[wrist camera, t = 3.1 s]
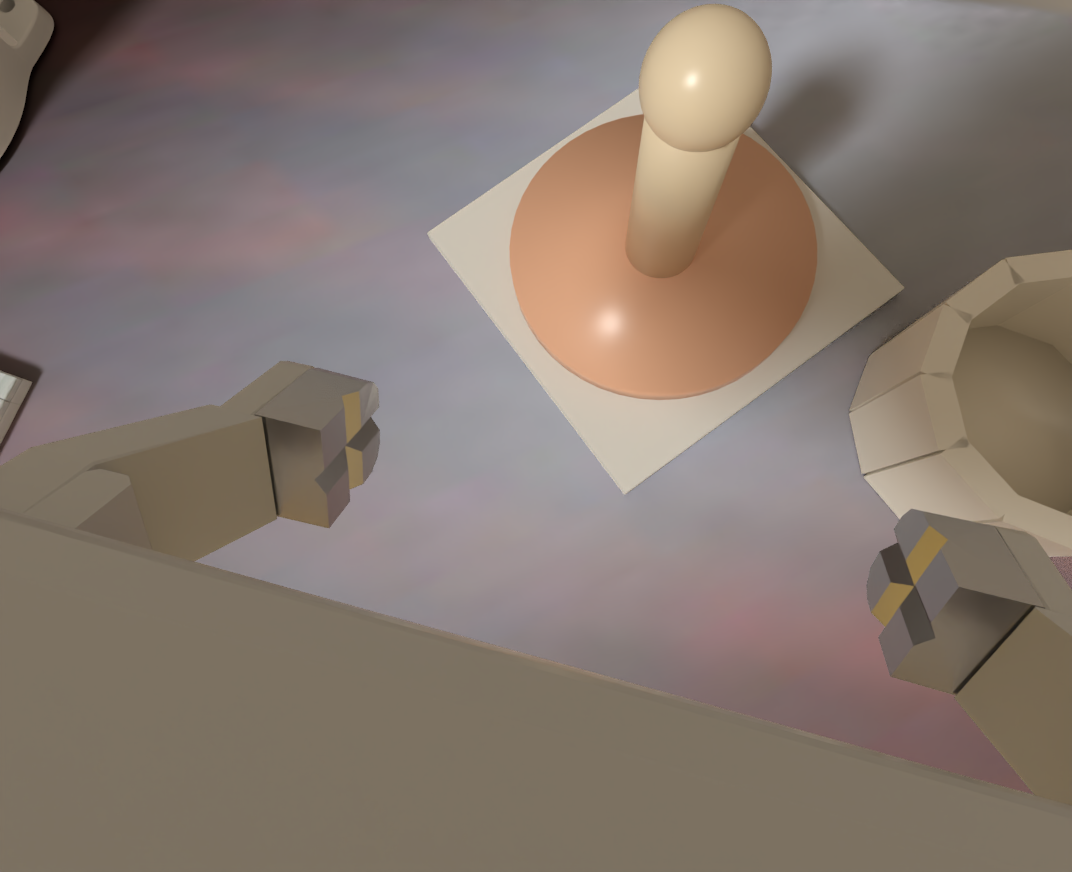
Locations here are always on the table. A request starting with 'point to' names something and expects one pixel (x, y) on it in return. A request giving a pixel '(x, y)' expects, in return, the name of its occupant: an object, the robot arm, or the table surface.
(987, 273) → the bowl
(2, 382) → the hard drive
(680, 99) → the salmon dome
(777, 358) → the mat
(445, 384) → the table surface
